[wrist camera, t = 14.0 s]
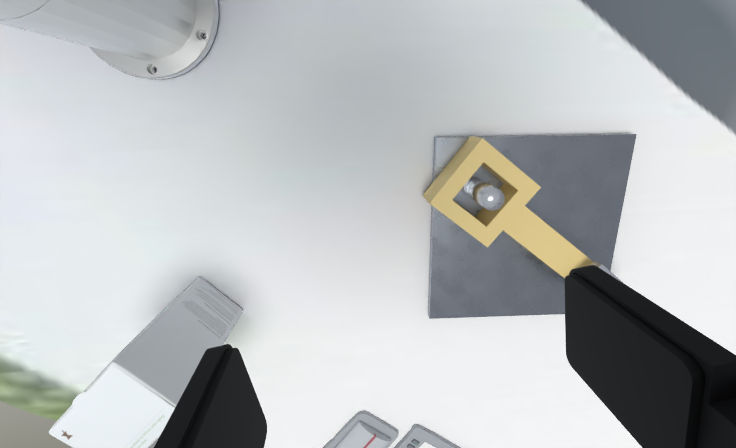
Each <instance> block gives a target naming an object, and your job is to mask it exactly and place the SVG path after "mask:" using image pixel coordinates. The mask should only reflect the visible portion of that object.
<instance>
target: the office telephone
mask: <svg viewBox="0 0 736 448" xmlns="http://www.w3.org/2000/svg"><path fill="white" fill-rule="evenodd" d="M397 437H398V430H397V429H396V428H394V427H393V426H391V425H390V424H388V423H386V422H385V421H383V420H381V419H380V418H378V417H376V416H374V415H373V414H371V413H369V412H367V411H360V412H358V413H357V414H356V415H355V416H354V417H353V418H352V419H351V420H350V421H349V422H348V423H347V424H346V425H345V426H344V427H343V428H342V429H341V430H340V431H339V432H338V433H337V434H336V435H335V437H334V438H333V439H332V440H330V441H329V442H328V443H327V444H326V445H325V446H324V447H323V448H388V447H389V446H390V445H391V444H392V443H393V442H394V440H395V439H396V438H397ZM424 442H427V443H428V444H430V445H432V446H434V447H436V448H460V447H458V446H457V445H455V444H453V443H451V442H450V441H448V440H446V439H445V438H443V437H441V436H439V435H438V434H436V433H434V432H432V431H431V430H429V429H427V428H425V427H423V426H421V425H419V424H414V425H413V426H412V428H411V430H410V431H409V432H408V433H407V434H406V435H405V436H404V437H403V438H402V440H401V441H400V442H399V443H398V444H397V445H396V446H395V447H394V448H419V447H420V446H421V445H422V444H423V443H424Z"/></svg>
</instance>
